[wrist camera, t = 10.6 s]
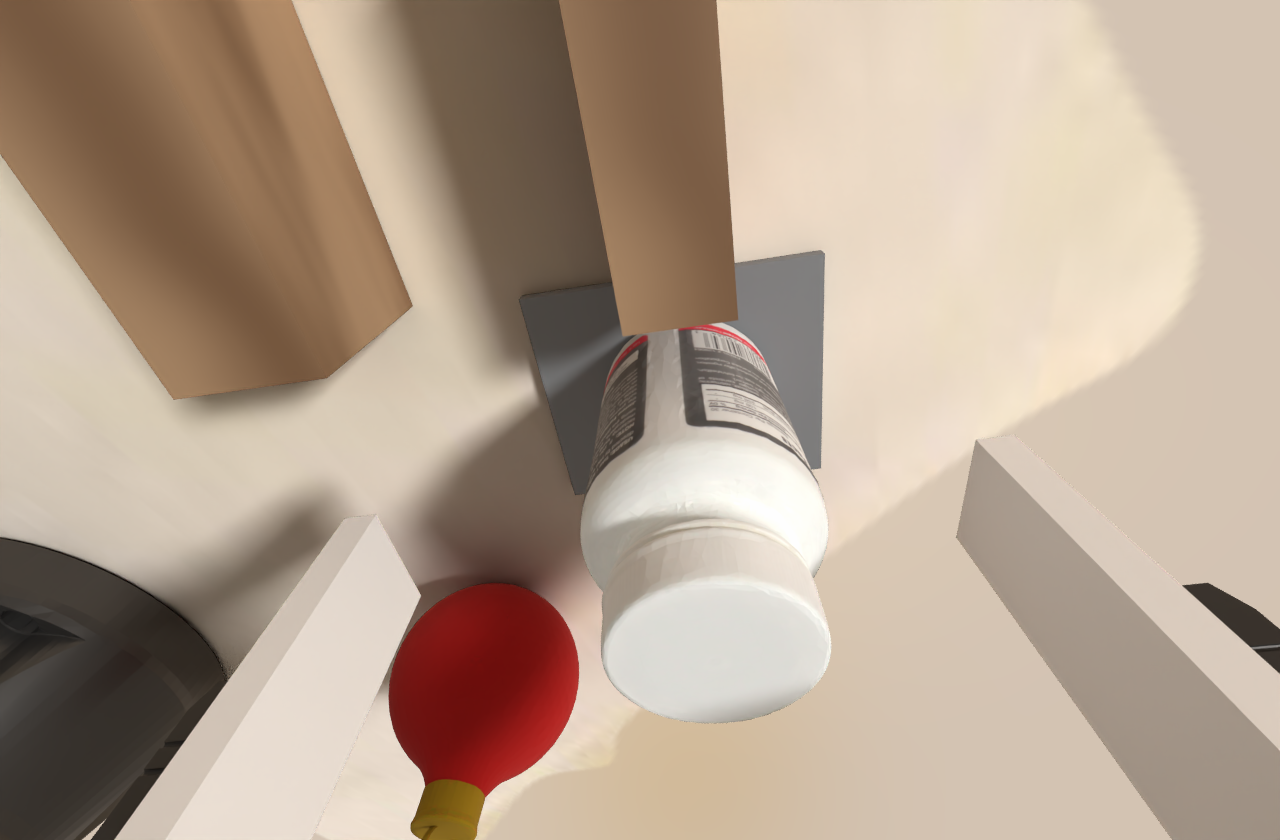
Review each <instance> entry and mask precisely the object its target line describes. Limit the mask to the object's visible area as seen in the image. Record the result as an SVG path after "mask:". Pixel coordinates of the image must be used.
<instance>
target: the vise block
mask: <svg viewBox="0 0 1280 840" xmlns="http://www.w3.org/2000/svg"><path fill="white" fill-rule="evenodd" d="M559 5H560V10H561V15H562V20H563V26H564V31H565V36H566V41H567V47H568V52H569V57H570V62H571V68H572V73H573V78H574V83H575V89H576V94H577V99H578V104H579V109H580V115H581V120H582V125H583V130H584V136H585V141H586V146H587V151H588V157H589V162H590V167H591V172H592V178H593V183H594V188H595V193H596V199H597V204H598V209H599V214H600V220H601V225H602V230H603V235H604V240H605V246H606V251H607V256H608V261H609V267H610V272H611V277H612V282H613V288H614V293H615V298H616V303H617V309H618V314H619V319H620V324H621V330H622V335H623V336H630V335H637V334H644V333H651V332H658V331H665V330H672V329H680V328H687V327H694V326H701V325H708V324H715V323H722V322H729V321H736V320H738V308H737V293H736V279H735V264H734V250H733V236H732V221H731V207H730V192H729V178H728V163H727V149H726V134H725V120H724V105H723V91H722V76H721V62H720V48H719V33H718V19H717V4H716V0H559ZM0 154H1V156H2V157H3V158H4V160H5V161H6V163H7V164H8V166H9V167H10V168H11V170H12V171H13V173H14V174H15V175H16V177H17V178H18V180H19V181H20V183H21V184H22V185H23V187H24V188H25V190H26V191H27V192H28V194H29V195H30V197H31V198H32V200H33V201H34V202H35V204H36V205H37V207H38V208H39V209H40V211H41V212H42V214H43V215H44V217H45V218H46V219H47V221H48V222H49V224H50V225H51V226H52V228H53V229H54V231H55V232H56V234H57V235H58V236H59V238H60V239H61V241H62V242H63V243H64V245H65V246H66V248H67V249H68V251H69V252H70V253H71V255H72V256H73V258H74V259H75V260H76V262H77V263H78V265H79V266H80V268H81V269H82V270H83V272H84V273H85V275H86V276H87V277H88V279H89V280H90V282H91V283H92V285H93V286H94V287H95V289H96V290H97V292H98V293H99V294H100V296H101V297H102V299H103V300H104V302H105V303H106V304H107V306H108V307H109V309H110V310H111V311H112V313H113V314H114V316H115V317H116V319H117V320H118V321H119V323H120V324H121V326H122V327H123V328H124V330H125V331H126V333H127V334H128V336H129V337H130V338H131V340H132V341H133V343H134V344H135V345H136V347H137V348H138V350H139V351H140V353H141V354H142V355H143V357H144V358H145V360H146V361H147V362H148V364H149V365H150V367H151V368H152V370H153V371H154V372H155V374H156V375H157V377H158V378H159V379H160V381H161V382H162V384H163V385H164V387H165V388H166V389H167V391H168V392H169V394H170V395H171V396H172V398H173V399H174V400H175V399H182V398H189V397H196V396H203V395H210V394H217V393H225V392H232V391H239V390H246V389H253V388H260V387H267V386H274V385H281V384H289V383H296V382H303V381H310V380H317V379H324V378H328V377H329V376H330V375H331V374H332V373H334V372H335V371H336V370H337V369H338V368H339V367H341V366H342V365H343V364H344V363H345V362H347V361H348V360H349V359H350V358H351V357H353V356H354V355H355V354H356V353H357V352H359V351H360V350H361V349H362V348H363V347H365V346H366V345H367V344H368V343H369V342H370V341H372V340H373V339H374V338H375V337H376V336H378V335H379V334H380V333H381V332H382V331H384V330H385V329H386V328H387V327H388V326H390V325H391V324H392V323H393V322H394V321H396V320H397V319H398V318H399V317H400V316H401V315H403V314H404V313H405V312H406V311H407V310H409V309H410V308H411V307H412V306H413V305H412V303H411V300H410V298H409V295H408V293H407V290H406V288H405V285H404V283H403V280H402V278H401V275H400V273H399V270H398V268H397V265H396V263H395V260H394V258H393V255H392V253H391V250H390V248H389V245H388V243H387V240H386V238H385V235H384V232H383V230H382V227H381V225H380V222H379V220H378V217H377V215H376V212H375V210H374V207H373V205H372V202H371V200H370V197H369V195H368V192H367V190H366V187H365V185H364V182H363V180H362V177H361V175H360V172H359V170H358V167H357V165H356V162H355V159H354V157H353V154H352V152H351V149H350V147H349V144H348V142H347V139H346V137H345V134H344V132H343V129H342V127H341V124H340V122H339V119H338V117H337V114H336V112H335V109H334V107H333V104H332V102H331V99H330V97H329V94H328V92H327V89H326V86H325V84H324V81H323V79H322V76H321V74H320V71H319V69H318V66H317V64H316V61H315V59H314V56H313V54H312V51H311V49H310V46H309V44H308V41H307V39H306V36H305V34H304V31H303V29H302V26H301V24H300V21H299V19H298V16H297V14H296V11H295V8H294V6H293V3H292V1H291V0H0Z"/></svg>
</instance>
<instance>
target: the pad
mask: <svg viewBox="0 0 1280 840" xmlns="http://www.w3.org/2000/svg"><path fill="white" fill-rule="evenodd" d="M734 264H735V279H736V293H737V308H738V320H736V321H729V322H722V323H724V324H726V325H729V326H731V327H733V328H735V329H736V330H738V331H739V332H741V333H742V334H744V335H745V336H746V337H747V338H748V339H750V340H751V341H752V342H753V343H754V345H755V346H756V347H757V348H758V350H759V351H760V353H761V354H762V356H763V358H764V360H765V362H766V364H767V367H768V369H769V371H770V373H771V376H772V378H773V380H774V382H775V384H776V387H777V389H778V392H779V394H780V397H781V399H782V401H783V404H784V407H785V409H786V411H787V413H788V416H789V418H790V421H791V423H792V426H793V428H794V430H795V433H796V435H797V438H798V440H799V442H800V444H801V447H802V450H803V452H804V454H805V457H806V459H807V462H808V464H809V466H810V468H811V469H819V468H821V431H822V376H823V321H824V266H825V253H823V252H822V251H821V250H819V251H813V252H806V253H799V254H793V255H786V256H780V257H773V258H767V259H760V260H754V261H747V262H740V263H734ZM519 302H520V305H521V309H522V312H523V316H524V319H525V323H526V326H527V330H528V333H529V337H530V340H531V344H532V347H533V351H534V354H535V358H536V361H537V364H538V368H539V371H540V375H541V378H542V382H543V385H544V389H545V392H546V396H547V399H548V403H549V406H550V410H551V413H552V417H553V420H554V423H555V427H556V430H557V434H558V437H559V441H560V444H561V448H562V451H563V455H564V458H565V462H566V465H567V469H568V472H569V476H570V479H571V482H572V486H573V489H574V493H575V495H579V494H585V493H586V488H587V484H588V479H589V473H590V468H591V464H592V459H593V454H594V447H595V441H596V435H597V428H598V420H599V414H600V410H601V404H602V399H603V394H604V390H605V385H606V381H607V377H608V374H609V371H610V368H611V366H612V363H613V362H614V360H615V358H616V356H617V355H618V354H619V352H620V351H621V350H622V348H623V347H624V345H625V344H626V343H627V342H628V341H629V340H631V339H632V338H633V337H635V336H636V335H630V336H623V335H622V330H621V324H620V319H619V314H618V309H617V303H616V298H615V293H614V288H613V282H609V283H603V284H596V285H590V286H583V287H577V288H570V289H563V290H557V291H550V292H544V293H537V294H531V295H524V296H521V298H520V299H519Z"/></svg>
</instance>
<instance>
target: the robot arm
mask: <svg viewBox="0 0 1280 840" xmlns="http://www.w3.org/2000/svg"><path fill="white" fill-rule="evenodd" d="M956 538H957V539H958V540H959V542H960V543H961V545H962V546H963V547H964V549H965V550H966V552H967V553H968V554H969V556H970V557H971V559H972V560H973V561H974V563H975V564H976V566H977V567H978V568H979V570H980V571H981V573H982V574H983V575H984V577H985V578H986V579H987V581H988V582H989V584H990V585H991V587H992V588H993V590H994V591H995V592H996V594H997V595H998V596H999V598H1000V599H1001V601H1002V602H1003V603H1004V605H1005V606H1006V608H1007V609H1008V611H1009V612H1010V613H1011V615H1012V616H1013V618H1014V619H1015V620H1016V622H1017V623H1018V624H1019V626H1020V627H1021V629H1022V630H1023V631H1024V633H1025V634H1026V636H1027V637H1028V639H1029V640H1030V641H1031V643H1032V644H1033V646H1034V647H1035V648H1036V650H1037V651H1038V653H1039V654H1040V655H1041V657H1042V658H1043V660H1044V661H1045V662H1046V664H1047V665H1048V667H1049V668H1050V669H1051V671H1052V672H1053V674H1054V675H1055V676H1056V678H1057V679H1058V681H1059V682H1060V683H1061V685H1062V686H1063V688H1064V689H1065V690H1066V691H1067V693H1068V695H1069V696H1070V697H1071V699H1072V700H1073V702H1074V703H1075V704H1076V706H1077V707H1078V708H1079V710H1080V711H1081V713H1082V714H1083V715H1084V717H1085V718H1086V720H1087V721H1088V722H1089V724H1090V725H1091V727H1092V728H1093V730H1094V731H1095V732H1096V734H1097V735H1098V737H1099V738H1100V739H1101V741H1102V742H1103V744H1104V745H1105V746H1106V748H1107V749H1108V751H1109V752H1110V753H1111V755H1112V756H1113V757H1114V759H1115V760H1116V762H1117V763H1118V764H1119V766H1120V767H1121V769H1122V770H1123V772H1124V773H1125V774H1126V776H1127V777H1128V779H1129V780H1130V781H1131V783H1132V784H1133V786H1134V787H1135V788H1136V790H1137V791H1138V793H1139V794H1140V795H1141V797H1142V798H1143V800H1144V801H1145V802H1146V804H1147V805H1148V807H1149V808H1150V809H1151V811H1152V812H1153V814H1154V815H1155V816H1156V818H1157V819H1158V821H1159V822H1160V823H1161V825H1162V826H1163V828H1164V829H1165V830H1166V832H1167V833H1168V835H1169V836H1170V837H1171V839H1172V840H1280V629H1279V628H1278V627H1276V626H1275V625H1274V624H1273V623H1272V622H1270V621H1269V620H1268V619H1267V618H1266V617H1264V616H1263V615H1262V614H1261V613H1260V612H1258V611H1257V610H1256V609H1254V608H1253V607H1251V606H1249V605H1247V604H1245V603H1243V602H1242V601H1240V600H1238V599H1236V598H1234V597H1233V596H1231V595H1229V594H1227V593H1225V592H1224V591H1222V590H1220V589H1218V588H1216V587H1214V586H1213V585H1211V584H1209V583H1203V584H1192V585H1181V584H1180V583H1179V582H1177V581H1176V580H1175V579H1174V578H1173V577H1172V576H1171V575H1170V574H1169V573H1167V572H1166V571H1165V570H1164V569H1163V568H1162V567H1161V566H1160V565H1158V564H1157V563H1156V562H1155V561H1154V560H1153V559H1152V558H1151V557H1150V556H1149V555H1147V554H1146V553H1145V552H1144V551H1143V550H1142V549H1141V548H1140V547H1139V546H1137V545H1136V544H1135V543H1134V542H1133V541H1132V540H1131V539H1130V538H1129V537H1128V536H1126V535H1125V534H1124V533H1123V532H1122V531H1121V530H1120V529H1119V528H1117V527H1116V526H1115V525H1114V524H1113V523H1112V522H1111V521H1110V520H1109V519H1108V518H1106V517H1105V516H1104V515H1103V514H1102V513H1101V512H1100V511H1099V510H1097V508H1095V507H1094V506H1093V505H1092V504H1091V503H1090V502H1089V501H1088V500H1086V499H1085V498H1084V497H1083V496H1082V495H1081V494H1080V493H1079V492H1078V491H1077V490H1075V489H1074V488H1073V487H1072V486H1071V485H1070V484H1069V483H1068V482H1067V481H1066V480H1064V479H1063V478H1062V477H1061V476H1060V475H1059V474H1058V473H1057V472H1056V471H1054V470H1053V469H1052V468H1051V467H1050V466H1049V465H1048V464H1047V463H1046V462H1044V461H1043V460H1042V459H1041V458H1040V457H1039V456H1038V455H1037V454H1035V453H1034V452H1033V451H1032V450H1031V449H1030V448H1029V447H1028V446H1027V445H1026V444H1024V443H1023V442H1022V441H1021V440H1020V439H1019V438H1018V437H1017V436H1016V435H1009V436H1001V437H993V438H985V439H977V440H976V441H975V446H974V451H973V456H972V461H971V466H970V471H969V476H968V481H967V486H966V491H965V496H964V501H963V506H962V511H961V516H960V521H959V526H958V531H957V536H956ZM420 597H421V594H420V593H419V591H418V589H417V587H416V585H415V584H414V582H413V580H412V578H411V576H410V575H409V573H408V571H407V569H406V567H405V566H404V564H403V562H402V560H401V558H400V556H399V555H398V553H397V551H396V549H395V547H394V546H393V544H392V542H391V540H390V538H389V537H388V535H387V533H386V531H385V529H384V528H383V526H382V524H381V522H380V520H379V519H378V517H377V515H376V514H375V515H367V516H359V517H351V518H345V519H344V520H343V521H342V523H341V524H340V526H339V527H338V528H337V530H336V531H335V533H334V534H333V535H332V537H331V538H330V540H329V541H328V542H327V544H326V545H325V547H324V548H323V549H322V551H321V552H320V553H319V555H318V556H317V558H316V559H315V560H314V562H313V563H312V565H311V566H310V567H309V569H308V570H307V572H306V573H305V574H304V576H303V577H302V579H301V580H300V581H299V583H298V584H297V586H296V587H295V588H294V590H293V591H292V593H291V594H290V595H289V597H288V598H287V600H286V601H285V602H284V604H283V605H282V607H281V608H280V609H279V611H278V612H277V613H276V615H275V616H274V618H273V619H272V620H271V622H270V623H269V625H268V626H267V627H266V629H265V630H264V632H263V633H262V634H261V636H260V637H259V639H258V640H257V641H256V643H255V644H254V646H253V647H252V648H251V650H250V651H249V653H248V654H247V655H246V657H245V658H244V660H243V661H242V662H241V664H240V665H239V666H238V668H237V669H236V671H235V672H234V673H233V675H232V676H231V678H230V679H229V680H224V675H223V672H222V669H221V666H220V664H219V662H218V660H217V658H216V657H215V655H214V654H213V652H212V650H211V649H210V648H209V646H208V645H207V644H206V643H205V641H204V640H203V639H202V638H201V637H200V636H199V635H198V634H197V633H196V632H195V630H194V629H193V628H191V627H190V626H189V625H188V624H187V623H186V622H185V621H184V620H183V619H181V618H180V617H179V616H178V615H177V614H175V613H174V612H173V611H171V610H170V609H169V608H167V607H166V606H165V605H163V604H162V603H160V602H159V601H157V600H156V599H155V598H153V597H151V596H150V595H148V594H147V593H145V592H143V591H142V590H140V589H138V588H137V587H135V586H133V585H131V584H130V583H128V582H126V581H124V580H122V579H120V578H118V577H116V576H114V575H112V574H110V573H108V572H106V571H104V570H101V569H99V568H97V567H94V566H92V565H90V564H87V563H85V562H82V561H80V560H77V559H75V558H72V557H69V556H66V555H63V554H61V553H57V552H54V551H51V550H48V549H44V548H41V547H37V546H33V545H30V544H25V543H21V542H17V541H12V540H6V539H1V538H0V840H82V839H83V838H84V837H86V835H88V834H89V833H90V832H91V831H93V830H94V829H95V828H96V827H97V826H98V825H99V824H101V823H102V822H103V821H104V820H105V819H106V820H105V822H104V823H103V824H102V826H101V827H100V828H99V830H98V831H97V832H96V834H95V835H94V836H93V838H92V839H91V840H311V839H312V837H313V835H314V832H315V830H316V828H317V826H318V823H319V821H320V819H321V817H322V815H323V812H324V810H325V808H326V806H327V804H328V801H329V799H330V797H331V795H332V792H333V790H334V788H335V786H336V784H337V781H338V779H339V777H340V775H341V772H342V770H343V768H344V766H345V764H346V761H347V759H348V757H349V755H350V752H351V750H352V748H353V746H354V744H355V741H356V739H357V737H358V735H359V732H360V730H361V728H362V726H363V724H364V721H365V719H366V717H367V715H368V713H369V710H370V708H371V706H372V704H373V701H374V699H375V697H376V695H377V693H378V690H379V688H380V686H381V684H382V681H383V679H384V677H385V675H386V673H387V670H388V668H389V666H390V664H391V661H392V659H393V657H394V655H395V653H396V650H397V648H398V646H399V644H400V641H401V639H402V637H403V635H404V633H405V630H406V628H407V626H408V624H409V622H410V619H411V617H412V615H413V613H414V610H415V608H416V606H417V604H418V602H419V599H420Z"/></svg>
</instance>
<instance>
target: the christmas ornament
mask: <svg viewBox="0 0 1280 840" xmlns="http://www.w3.org/2000/svg"><path fill="white" fill-rule="evenodd" d="M578 682H579V662H578V655H577V650H576V646H575V642H574V639H573V637H572V634H571V632H570V630H569V628H568V626H567V624H566V622H565V621H564V619H563V618H562V616H561V615H560V614H559V612H558V611H557V610H556V609H555V608H554V607H553V606H552V605H551V604H550V603H549V602H548V601H546V600H545V599H544V598H542V597H541V596H539V595H538V594H536V593H534V592H532V591H530V590H528V589H525V588H522V587H519V586H516V585H510V584H505V583H488V584H479V585H475V586H471V587H467V588H465V589H462V590H459V591H457V592H455V593H453V594H451V595H449V596H447V597H446V598H444V599H443V600H441V601H439V602H438V603H436V604H435V605H434V606H433V607H432V608H430V609H429V610H428V611H427V612H426V613H425V614H424V615H423V616H422V617H421V618H420V619H419V620H418V621H417V622H416V624H415V625H414V626H413V628H412V629H411V630H410V632H409V633H408V635H407V636H406V638H405V640H404V642H403V643H402V645H401V647H400V650H399V652H398V654H397V656H396V659H395V662H394V665H393V668H392V673H391V678H390V684H389V711H390V717H391V721H392V725H393V729H394V732H395V734H396V737H397V739H398V741H399V743H400V745H401V747H402V748H403V750H404V751H405V753H406V754H407V756H408V757H409V758H410V759H411V761H412V762H413V763H414V764H415V765H416V766H417V767H418V768H419V769H420V770H421V772H422V775H423V777H424V782H425V788H424V791H423V794H422V797H421V800H420V803H419V806H418V809H417V812H416V815H415V817H414V819H413V821H412V822H411V832H412V833H413V834H414V835H415V836H417V837H418V838H420V839H422V840H474V839H475V838H476V836H477V826H478V822H479V818H480V815H481V811H482V808H483V804H484V801H485V797H486V796H487V795H488V794H489V793H490V792H491V791H492V790H493V789H494V788H495V787H496V786H498V785H499V784H500V783H502V782H504V781H507V780H509V779H511V778H513V777H515V776H517V775H519V774H521V773H522V772H524V771H525V770H527V769H528V768H530V767H531V766H533V765H534V764H535V763H536V762H537V761H538V760H540V759H541V758H542V757H543V756H544V755H545V754H546V752H547V751H548V750H549V749H550V748H551V747H552V746H553V745H554V743H555V742H556V740H557V739H558V737H559V736H560V734H561V733H562V731H563V729H564V728H565V726H566V724H567V722H568V720H569V717H570V715H571V712H572V710H573V707H574V703H575V700H576V695H577V690H578Z"/></svg>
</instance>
